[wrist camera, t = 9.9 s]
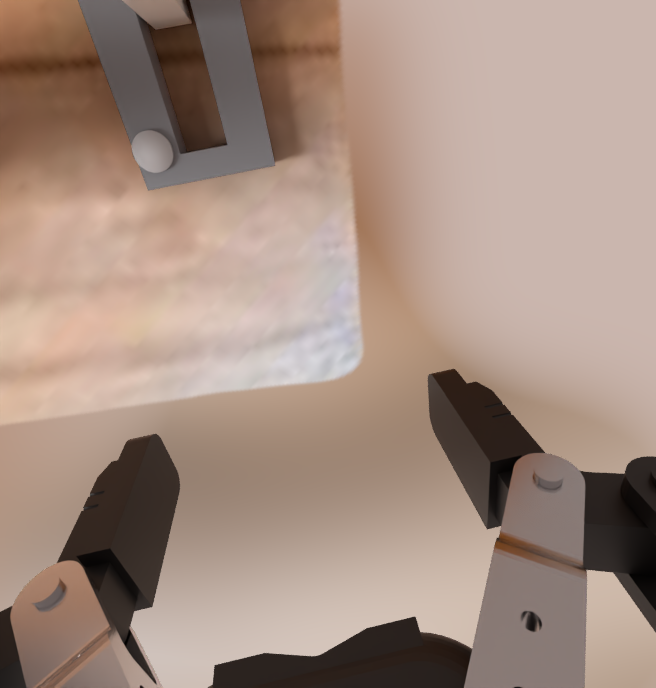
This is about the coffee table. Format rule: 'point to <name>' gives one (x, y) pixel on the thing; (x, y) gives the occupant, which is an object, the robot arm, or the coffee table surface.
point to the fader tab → (161, 12)
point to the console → (154, 100)
